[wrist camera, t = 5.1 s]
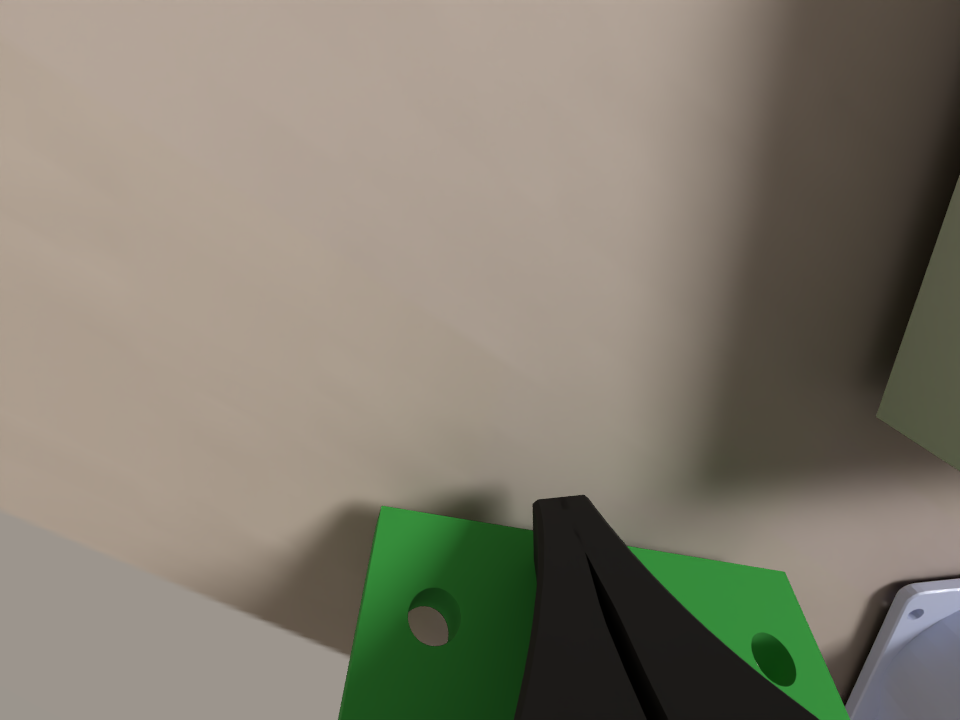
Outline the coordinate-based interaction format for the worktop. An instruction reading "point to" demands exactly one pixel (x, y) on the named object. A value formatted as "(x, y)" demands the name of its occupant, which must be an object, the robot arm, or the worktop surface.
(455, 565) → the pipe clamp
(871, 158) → the worktop surface
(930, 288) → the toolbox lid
